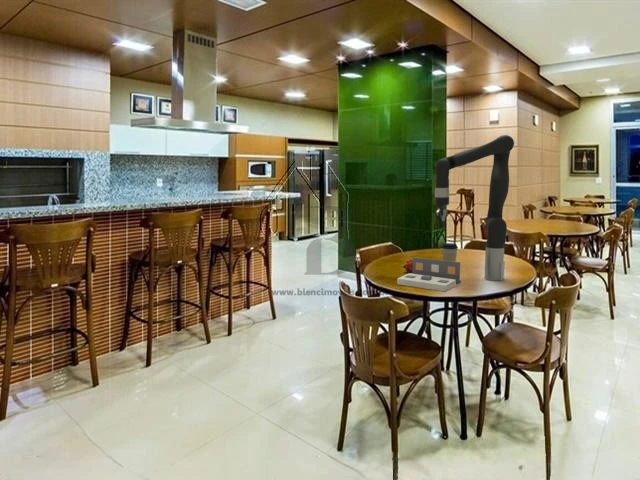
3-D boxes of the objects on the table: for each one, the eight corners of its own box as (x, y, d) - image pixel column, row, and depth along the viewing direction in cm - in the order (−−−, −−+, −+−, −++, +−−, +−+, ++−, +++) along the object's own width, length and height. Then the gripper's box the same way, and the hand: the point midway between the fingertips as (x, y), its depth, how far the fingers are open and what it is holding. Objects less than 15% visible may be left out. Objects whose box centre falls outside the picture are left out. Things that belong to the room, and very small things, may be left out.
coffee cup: (459, 268, 265) (460, 243, 263) (454, 271, 257) (455, 246, 255) (443, 266, 270) (444, 242, 268) (438, 270, 262) (439, 244, 260)
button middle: (431, 281, 230) (431, 275, 230) (428, 283, 227) (428, 277, 227) (424, 280, 233) (424, 274, 232) (421, 282, 230) (421, 276, 229)
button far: (415, 281, 236) (415, 276, 235) (412, 283, 233) (412, 277, 232) (408, 280, 238) (408, 275, 238) (405, 282, 235) (405, 276, 235)
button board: (455, 285, 228) (456, 279, 228) (445, 291, 217) (445, 285, 217) (409, 278, 243) (409, 273, 243) (397, 284, 232) (397, 278, 232)
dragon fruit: (425, 275, 257) (404, 278, 256) (420, 264, 263) (400, 267, 262) (426, 265, 251) (405, 269, 250) (421, 254, 257) (401, 258, 256)
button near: (448, 286, 225) (448, 280, 225) (445, 288, 222) (445, 282, 222) (440, 285, 228) (440, 279, 227) (437, 287, 224) (437, 281, 224)
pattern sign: (461, 282, 234) (461, 261, 233) (457, 284, 230) (457, 263, 228) (415, 275, 250) (415, 256, 248) (410, 277, 245) (410, 258, 243)
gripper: (444, 197, 233) (443, 230, 236) (453, 195, 243) (452, 227, 246) (430, 196, 237) (429, 229, 240) (439, 195, 248) (439, 226, 251)
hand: (441, 228), depth 243 cm, fingers closed
